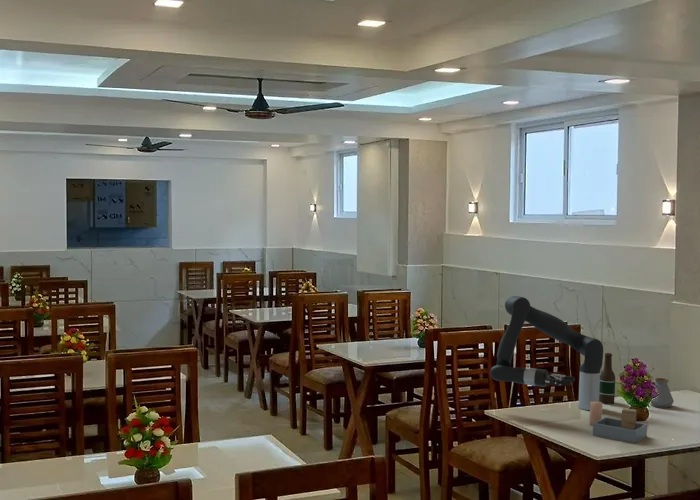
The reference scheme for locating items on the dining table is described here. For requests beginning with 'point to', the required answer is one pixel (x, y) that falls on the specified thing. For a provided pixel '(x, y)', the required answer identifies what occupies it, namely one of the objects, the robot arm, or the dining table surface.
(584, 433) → the dining table surface
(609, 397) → the beer bottle
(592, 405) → the terracotta cylinder
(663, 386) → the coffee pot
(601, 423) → the blue-gray tote
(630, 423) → the walnut block
